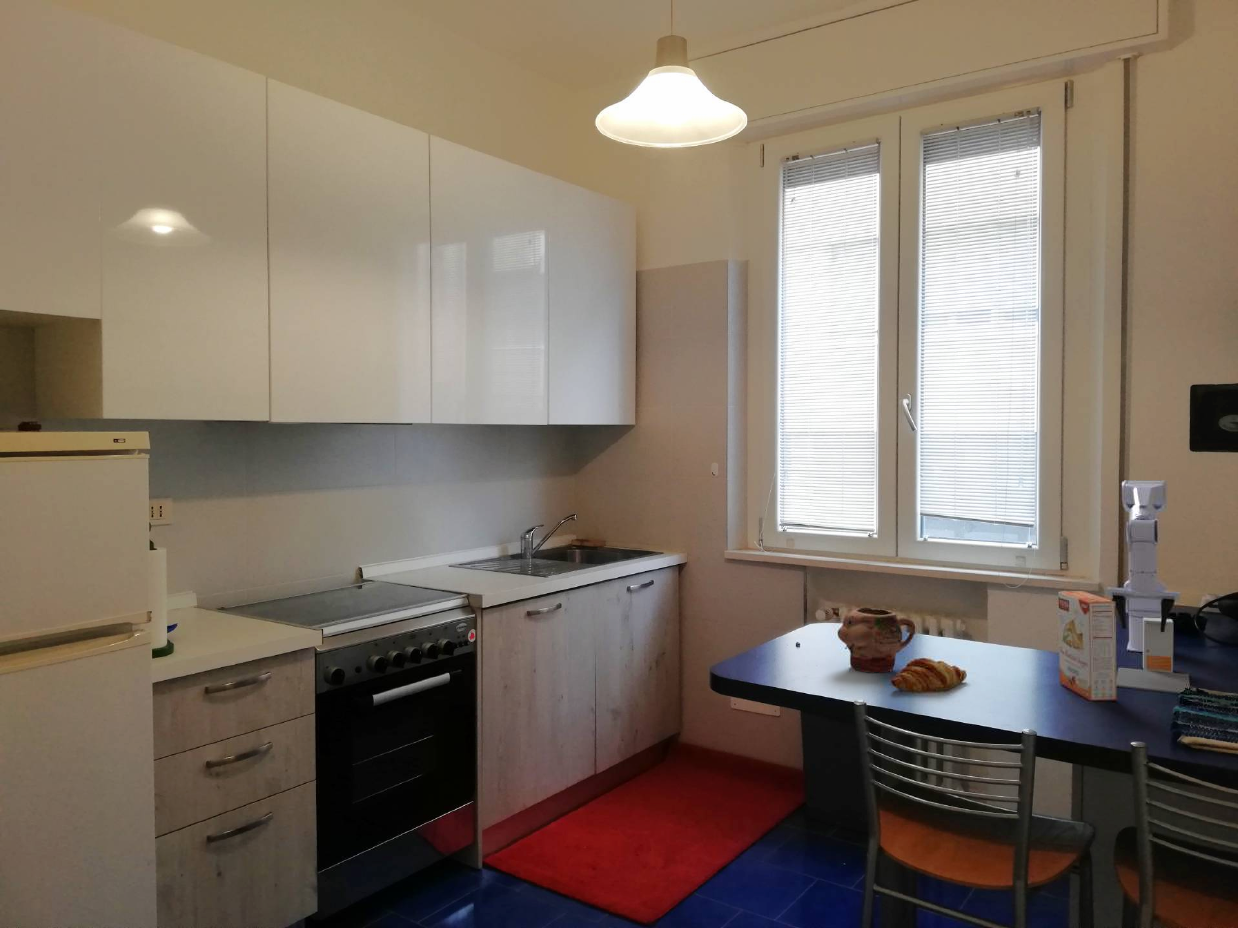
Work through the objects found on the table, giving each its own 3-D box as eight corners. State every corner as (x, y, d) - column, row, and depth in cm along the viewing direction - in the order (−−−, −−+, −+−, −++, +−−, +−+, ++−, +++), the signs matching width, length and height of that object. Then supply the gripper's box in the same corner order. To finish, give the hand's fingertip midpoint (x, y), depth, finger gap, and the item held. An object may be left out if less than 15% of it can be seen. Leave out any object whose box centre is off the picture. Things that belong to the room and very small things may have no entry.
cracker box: (1057, 684, 201) (1056, 590, 201) (1085, 683, 201) (1084, 590, 201) (1088, 701, 187) (1087, 600, 187) (1117, 701, 187) (1117, 600, 187)
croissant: (955, 693, 208) (943, 659, 211) (986, 681, 200) (973, 646, 203) (884, 704, 198) (872, 668, 202) (914, 692, 190) (901, 655, 194)
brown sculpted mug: (898, 659, 227) (897, 603, 227) (928, 670, 216) (928, 611, 216) (827, 665, 221) (827, 609, 221) (855, 677, 210) (854, 617, 209)
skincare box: (1143, 671, 212) (1143, 620, 212) (1142, 667, 216) (1142, 616, 216) (1174, 673, 209) (1173, 622, 209) (1172, 669, 213) (1172, 618, 213)
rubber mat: (1118, 669, 214) (1118, 667, 214) (1188, 675, 207) (1188, 674, 207) (1114, 686, 199) (1115, 684, 199) (1190, 694, 191) (1190, 692, 191)
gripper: (1105, 571, 211) (1106, 629, 211) (1178, 575, 202) (1179, 636, 203) (1109, 567, 216) (1109, 624, 217) (1180, 571, 208) (1180, 630, 208)
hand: (1143, 629), depth 210 cm, fingers open, 7 cm apart
